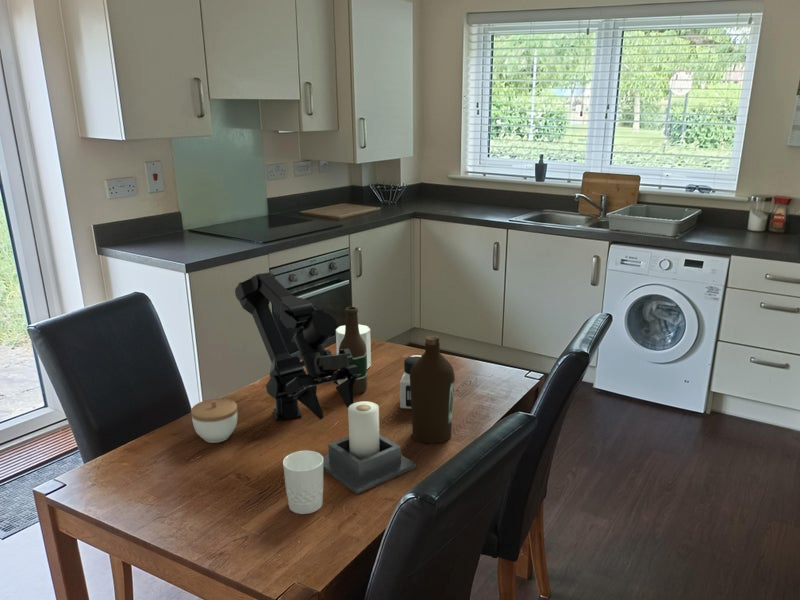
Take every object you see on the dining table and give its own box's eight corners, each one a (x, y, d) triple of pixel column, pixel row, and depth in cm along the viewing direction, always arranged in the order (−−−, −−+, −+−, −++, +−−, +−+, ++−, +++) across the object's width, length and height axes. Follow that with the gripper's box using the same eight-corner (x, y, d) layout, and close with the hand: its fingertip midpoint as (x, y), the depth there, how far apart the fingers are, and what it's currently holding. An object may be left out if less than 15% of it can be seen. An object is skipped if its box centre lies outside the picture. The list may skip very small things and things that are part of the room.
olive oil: (411, 446, 155) (410, 345, 148) (409, 425, 166) (408, 330, 159) (456, 444, 156) (457, 344, 149) (451, 424, 166) (452, 329, 159)
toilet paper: (340, 359, 209) (339, 323, 205) (373, 360, 208) (372, 324, 204) (334, 372, 199) (332, 334, 196) (368, 373, 198) (367, 335, 195)
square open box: (314, 463, 148) (313, 443, 147) (371, 440, 158) (371, 421, 156) (357, 494, 136) (356, 472, 135) (415, 467, 146) (415, 447, 145)
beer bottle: (373, 387, 188) (371, 306, 181) (357, 397, 181) (354, 314, 175) (351, 381, 192) (348, 302, 185) (334, 391, 185) (331, 309, 179)
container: (428, 410, 173) (428, 364, 170) (399, 408, 175) (399, 362, 171) (433, 398, 181) (433, 353, 177) (405, 396, 182) (405, 352, 178)
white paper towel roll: (345, 466, 145) (343, 411, 141) (357, 452, 151) (355, 399, 147) (372, 471, 143) (371, 416, 139) (384, 456, 149) (383, 403, 145)
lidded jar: (185, 437, 160) (181, 402, 158) (223, 422, 168) (220, 388, 165) (209, 452, 153) (205, 415, 151) (248, 436, 161) (245, 400, 158)
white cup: (308, 521, 128) (305, 475, 125) (277, 508, 132) (274, 463, 129) (333, 501, 134) (331, 456, 131) (303, 489, 138) (300, 446, 135)
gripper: (300, 342, 142) (326, 410, 138) (362, 332, 156) (387, 393, 152) (273, 363, 149) (297, 428, 145) (334, 352, 163) (358, 411, 159)
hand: (337, 414), depth 150 cm, fingers open, 9 cm apart
